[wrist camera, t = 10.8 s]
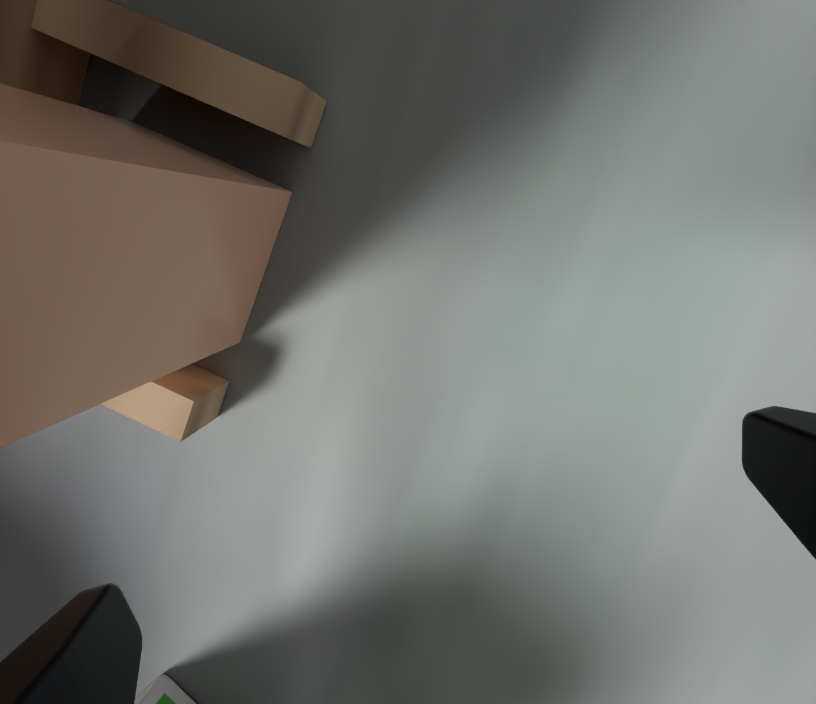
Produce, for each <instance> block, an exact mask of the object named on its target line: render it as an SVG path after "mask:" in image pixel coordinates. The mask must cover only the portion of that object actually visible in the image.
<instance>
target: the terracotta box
mask: <svg viewBox="0 0 816 704" xmlns="http://www.w3.org/2000/svg"><path fill="white" fill-rule="evenodd" d="M291 195H292V192H291V191H289V190H287V189H284V188H282V187H280V186H278V185H275V184H273V183H271V182H268V181H266V180H264V179H262V178H259V177H257V176H255V175H252V174H250V173H248V172H246V171H243V170H241V169H239V168H236V167H234V166H232V165H230V164H227V163H225V162H223V161H220V160H218V159H216V158H214V157H211V156H209V155H207V154H204V153H202V152H200V151H198V150H195V149H193V148H191V147H188V146H186V145H184V144H182V143H179V142H177V141H175V140H172V139H170V138H168V137H166V136H163V135H161V134H159V133H157V132H154V131H152V130H150V129H147V128H145V127H143V126H141V125H138V124H136V123H134V122H131V121H128V120H125V119H121V118H118V117H115V116H111V115H108V114H104V113H101V112H97V111H94V110H90V109H87V108H84V107H80V106H77V105H73V104H70V103H66V102H63V101H59V100H56V99H53V98H49V97H46V96H42V95H39V94H35V93H32V92H29V91H25V90H22V89H18V88H15V87H11V86H8V85H4V84H1V83H0V448H1V447H3V446H5V445H8V444H10V443H12V442H14V441H17V440H19V439H21V438H23V437H26V436H28V435H30V434H33V433H35V432H37V431H39V430H42V429H44V428H46V427H48V426H51V425H53V424H55V423H58V422H60V421H62V420H64V419H67V418H69V417H71V416H74V415H76V414H78V413H80V412H83V411H85V410H87V409H89V408H92V407H94V406H96V405H99V404H101V403H103V402H105V401H108V400H110V399H112V398H114V397H117V396H119V395H121V394H124V393H126V392H128V391H130V390H133V389H135V388H137V387H140V386H142V385H144V384H146V383H149V382H151V381H153V380H155V379H158V378H160V377H162V376H165V375H167V374H169V373H171V372H174V371H176V370H178V369H181V368H183V367H185V366H187V365H190V364H192V363H194V362H196V361H199V360H201V359H203V358H206V357H208V356H210V355H212V354H215V353H217V352H219V351H221V350H224V349H226V348H228V347H231V346H233V345H235V344H237V343H240V342H241V339H242V336H243V333H244V330H245V328H246V325H247V322H248V319H249V316H250V313H251V310H252V307H253V305H254V302H255V299H256V296H257V293H258V290H259V287H260V284H261V282H262V279H263V276H264V273H265V270H266V267H267V264H268V261H269V259H270V256H271V253H272V250H273V247H274V244H275V241H276V238H277V236H278V233H279V230H280V227H281V224H282V221H283V218H284V215H285V212H286V210H287V207H288V204H289V201H290V198H291Z"/></svg>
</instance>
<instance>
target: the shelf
mask: <svg viewBox="0 0 816 704" xmlns="http://www.w3.org/2000/svg"><path fill="white" fill-rule="evenodd" d="M91 54H94V55H96V56H98V57H100V58H103V59H105V60H107V61H110V62H112V63H114V64H117V65H119V66H121V67H124V68H126V69H128V70H131V71H133V72H135V73H138V74H140V75H142V76H144V77H147V78H149V79H151V80H154V81H156V82H158V83H161V84H163V85H165V86H168V87H170V88H172V89H175V90H177V91H179V92H181V93H184V94H186V95H188V96H191V97H193V98H195V99H198V100H200V101H202V102H205V103H207V104H209V105H212V106H214V107H216V108H219V109H221V110H223V111H225V112H228V113H230V114H232V115H235V116H237V117H239V118H242V119H244V120H246V121H249V122H251V123H253V124H256V125H258V126H260V127H263V128H265V129H267V130H269V131H272V132H274V133H276V134H279V135H281V136H283V137H286V138H288V139H290V140H293V141H295V142H298V143H300V144H302V145H305V146H307V147H309V148H311V147H312V144H313V141H314V138H315V135H316V133H317V130H318V127H319V124H320V121H321V118H322V115H323V113H324V110H325V107H326V104H327V101H326V100H325V99H323V98H322V97H321V96H319V95H318V94H317V93H315V92H314V91H313V90H311V89H310V88H309V87H307V86H306V85H304V84H303V83H302V82H300V81H298V80H295V79H293V78H291V77H288V76H286V75H284V74H281V73H279V72H277V71H274V70H272V69H270V68H267V67H265V66H263V65H260V64H258V63H255V62H253V61H251V60H248V59H246V58H244V57H241V56H239V55H237V54H234V53H232V52H230V51H227V50H225V49H223V48H220V47H218V46H215V45H213V44H211V43H208V42H206V41H204V40H201V39H199V38H197V37H194V36H192V35H190V34H187V33H185V32H183V31H180V30H178V29H175V28H173V27H171V26H168V25H166V24H164V23H161V22H159V21H157V20H154V19H152V18H150V17H147V16H145V15H143V14H140V13H138V12H135V11H133V10H131V9H128V8H126V7H124V6H121V5H119V4H117V3H114V2H112V1H110V0H0V83H1V84H4V85H8V86H11V87H15V88H18V89H22V90H25V91H29V92H32V93H35V94H39V95H42V96H46V97H49V98H53V99H56V100H59V101H63V102H66V103H70V104H73V105H77V106H79V102H80V98H81V93H82V89H83V85H84V81H85V77H86V73H87V68H88V64H89V60H90V56H91ZM229 382H230V381H229V380H227V379H224V378H222V377H220V376H218V375H216V374H214V373H211V372H209V371H207V370H205V369H203V368H201V367H198V366H196V365H194V364H190V365H187V366H185V367H183V368H181V369H178V370H176V371H174V372H171V373H169V374H167V375H165V376H162V377H160V378H158V379H155V380H153V381H151V382H149V383H146V384H144V385H142V386H140V387H137V388H135V389H133V390H130V391H128V392H126V393H124V394H121V395H119V396H117V397H114V398H112V399H110V400H108V401H105V402H103V403H101V405H103V406H105V407H108V408H110V409H112V410H114V411H116V412H118V413H120V414H122V415H125V416H127V417H129V418H131V419H133V420H135V421H137V422H139V423H141V424H144V425H146V426H148V427H150V428H152V429H154V430H156V431H158V432H161V433H163V434H165V435H167V436H169V437H171V438H173V439H175V440H178V441H180V442H181V441H182V440H184V439H185V438H187V437H188V436H190V435H191V434H193V433H194V432H196V431H197V430H199V429H200V428H202V427H203V426H205V425H206V424H208V423H209V422H211V421H212V420H214V419H215V418H217V417H218V414H219V411H220V408H221V405H222V402H223V399H224V397H225V394H226V391H227V388H228V385H229Z"/></svg>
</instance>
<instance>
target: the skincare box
mask: <svg viewBox="0 0 816 704" xmlns="http://www.w3.org/2000/svg"><path fill="white" fill-rule="evenodd" d="M134 704H196V703H195V702H194V701H193V700H192V699H191V698H190V697H189V696H188V695H187V694H186V693H185V692H184V691H183V690H182V689H181V688H180V687H179V686H178V685H177V684H176V683H175V682H174V681H173V680H172V679H171V678H169V677H168V676H167V675H165V674H164V675H161V676H159V677H158V678H157V679H156V680H155V681H154V682H153V683H152V684H150V685H149V686H148V687H147V688H146V689H145V690H144V691H143V692H142V693H141V694H140V695H139V696H138V697H137V698H136V699H135V701H134Z"/></svg>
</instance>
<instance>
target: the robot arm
mask: <svg viewBox="0 0 816 704" xmlns="http://www.w3.org/2000/svg"><path fill="white" fill-rule="evenodd" d="M742 464H743V468H744V471H745V473H746V475H747V477H748V478H749V480H750V481H751V482H752V483H753V485H754V486H755V487H756V488H757V489H758V491H759V492H760V493H761V494H762V496H763V497H764V498H765V499H766V500H767V502H768V503H769V504H770V505H771V506H772V508H773V509H774V510H775V511H776V512H777V514H778V515H779V516H780V517H781V519H782V520H783V521H784V522H785V523H786V525H787V526H788V527H789V528H790V529H791V531H792V532H793V533H794V534H795V535H796V537H797V538H798V539H799V540H800V542H801V543H802V544H803V545H804V546H805V548H806V549H807V550H808V551H809V552H810V553H811V555H812V556H813V557H814V558H815V559H816V413H811V412H805V411H800V410H794V409H789V408H784V407H778V406H772V407H767V408H763V409H760V410H756V411H752V412H749V413H748V414H746V415H745V417H744V419H743V423H742ZM141 651H142V634H141V630H140V627H139V624H138V622H137V620H136V618H135V616H134V614H133V612H132V611H131V609H130V607H129V605H128V603H127V601H126V599H125V597H124V595H123V593H122V591H121V589H120V588H119V587H118V586H117V585H115V584H106V585H102V586H98V587H94V588H91V589H87V590H84V591H82V592H80V593H79V594H78V595H76V596H75V597H74V598H73V599H72V600H71V601H70V602H68V603H67V604H66V605H65V606H64V607H63V608H62V609H60V610H59V611H58V612H57V613H56V614H55V615H54V616H52V617H51V618H50V619H49V620H48V621H47V622H46V623H45V624H43V625H42V626H41V627H40V628H39V629H38V630H37V631H35V632H34V633H33V634H32V635H31V636H30V637H29V638H27V639H26V640H25V641H24V642H23V643H22V644H21V645H19V646H18V647H17V648H16V649H15V650H14V651H13V652H11V653H10V654H9V655H8V656H7V657H6V658H5V659H3V660H2V661H1V662H0V704H134V701H135V694H136V687H137V680H138V672H139V665H140V658H141Z"/></svg>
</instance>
